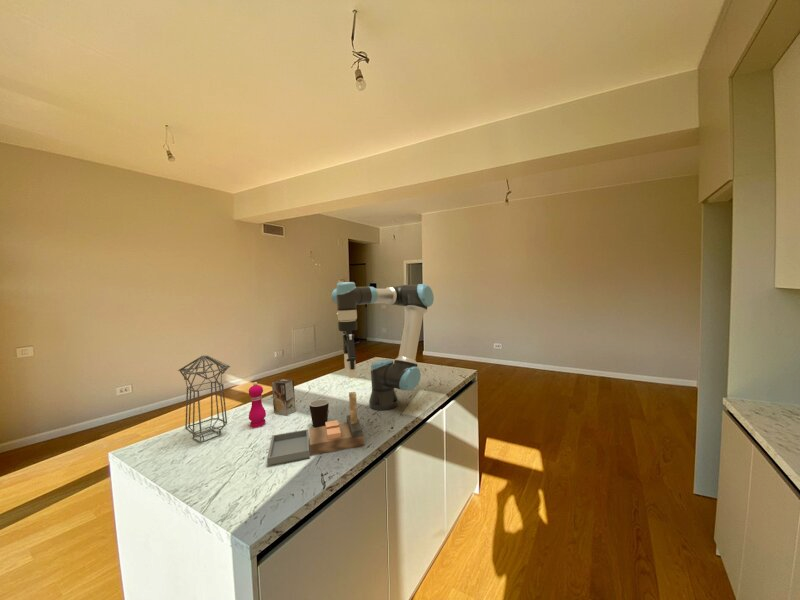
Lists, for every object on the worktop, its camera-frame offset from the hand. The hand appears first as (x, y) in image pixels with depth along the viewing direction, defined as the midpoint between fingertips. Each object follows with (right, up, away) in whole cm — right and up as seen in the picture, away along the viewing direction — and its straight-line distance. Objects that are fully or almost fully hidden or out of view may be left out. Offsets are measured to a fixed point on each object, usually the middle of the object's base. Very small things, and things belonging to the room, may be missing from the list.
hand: (350, 373), depth 123 cm
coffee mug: (-16, -27, +16) cm, 35 cm away
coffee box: (-38, -28, +31) cm, 57 cm away
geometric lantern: (-63, -29, +9) cm, 70 cm away
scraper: (+2, -23, +1) cm, 23 cm away
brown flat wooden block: (-5, -27, -1) cm, 28 cm away
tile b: (-6, -23, -5) cm, 24 cm away
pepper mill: (-45, -28, +17) cm, 56 cm away
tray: (-22, -28, -7) cm, 36 cm away
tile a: (-8, -23, +1) cm, 24 cm away
